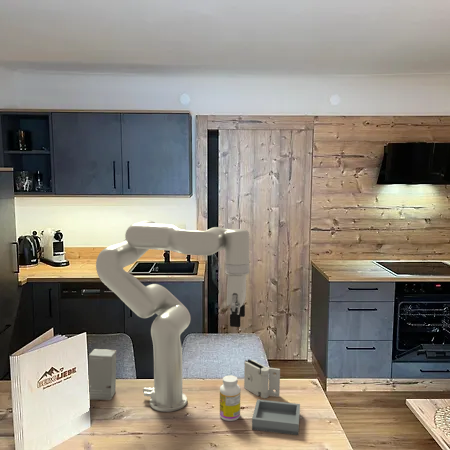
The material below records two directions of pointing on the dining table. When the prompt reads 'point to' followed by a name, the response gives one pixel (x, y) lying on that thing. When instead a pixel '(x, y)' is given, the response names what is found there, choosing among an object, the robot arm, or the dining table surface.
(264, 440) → the dining table surface
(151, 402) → the robot arm
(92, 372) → the skincare box
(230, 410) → the supplement bottle
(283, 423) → the parts tray
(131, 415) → the dining table surface
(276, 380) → the hinge
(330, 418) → the dining table surface
